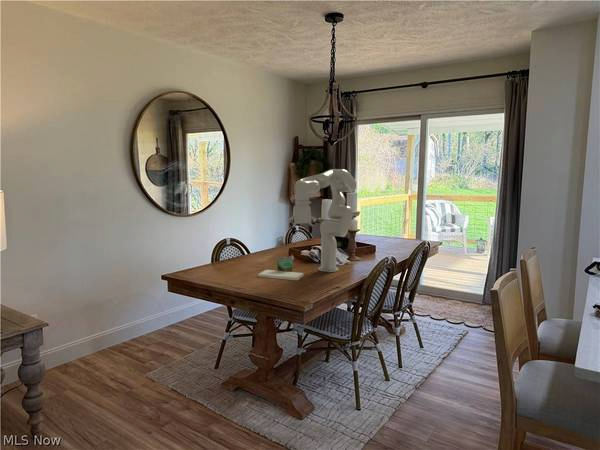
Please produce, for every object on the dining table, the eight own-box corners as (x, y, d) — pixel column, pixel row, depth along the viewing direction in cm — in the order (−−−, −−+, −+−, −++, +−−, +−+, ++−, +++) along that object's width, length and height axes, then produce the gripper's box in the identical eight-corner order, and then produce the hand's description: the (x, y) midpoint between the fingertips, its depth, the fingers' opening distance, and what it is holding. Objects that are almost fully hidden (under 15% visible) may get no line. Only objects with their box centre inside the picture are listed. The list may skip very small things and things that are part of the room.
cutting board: (266, 272, 249) (266, 269, 249) (303, 275, 241) (303, 273, 241) (258, 276, 238) (258, 274, 238) (297, 280, 230) (297, 277, 230)
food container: (281, 275, 242) (281, 258, 241) (275, 273, 247) (275, 256, 246) (297, 272, 250) (298, 256, 249) (291, 270, 255) (291, 254, 254)
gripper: (314, 202, 233) (314, 232, 235) (285, 203, 227) (285, 233, 230) (319, 203, 226) (318, 234, 228) (289, 204, 220) (289, 235, 223)
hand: (302, 233), depth 229 cm, fingers open, 9 cm apart
